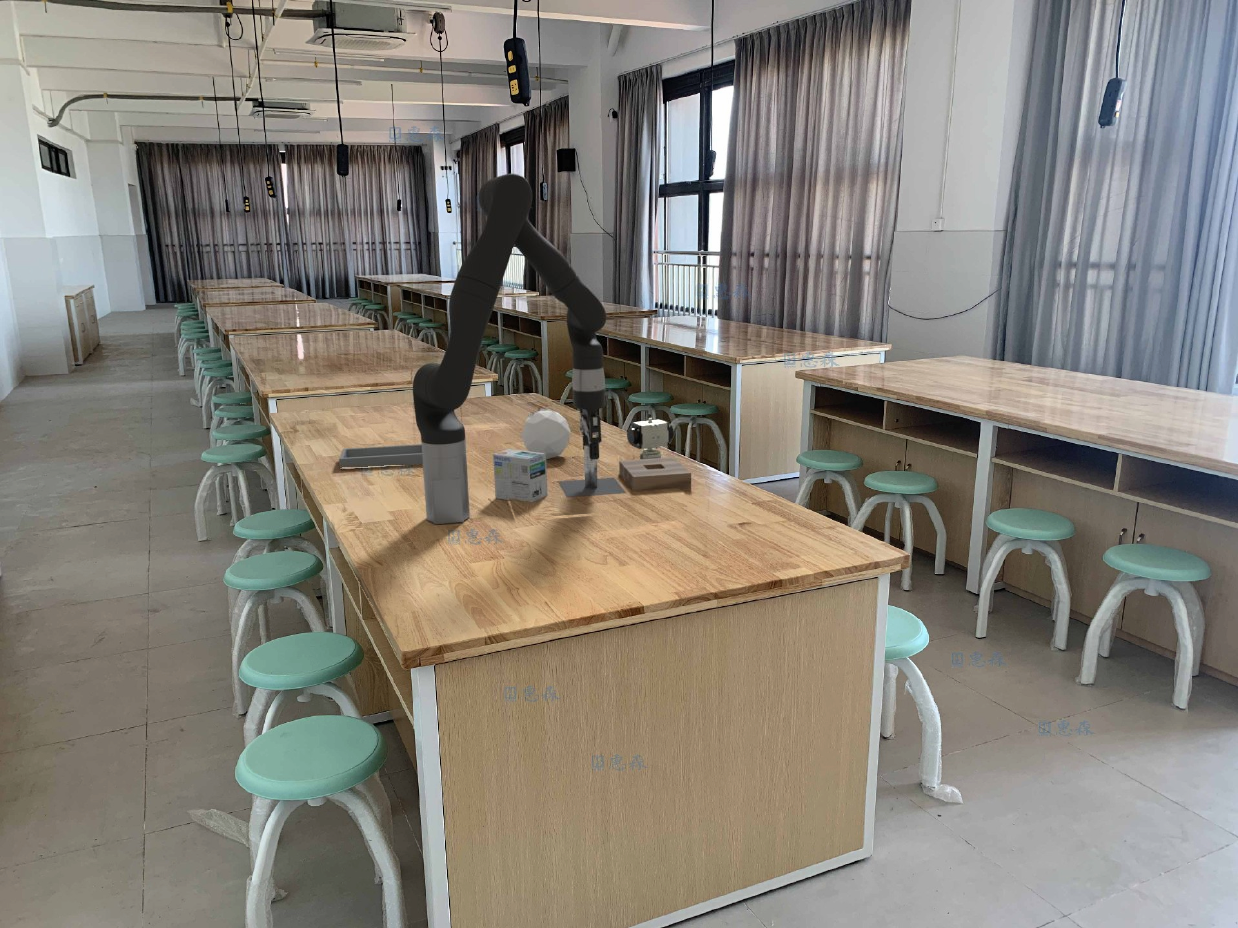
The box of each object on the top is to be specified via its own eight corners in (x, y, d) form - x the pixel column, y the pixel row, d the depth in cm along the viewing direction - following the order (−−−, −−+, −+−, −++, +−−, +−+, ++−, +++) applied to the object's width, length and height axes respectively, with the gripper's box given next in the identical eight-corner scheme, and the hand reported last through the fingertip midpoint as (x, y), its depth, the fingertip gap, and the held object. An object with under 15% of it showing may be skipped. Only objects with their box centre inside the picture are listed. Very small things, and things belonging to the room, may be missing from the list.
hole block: (691, 489, 214) (691, 472, 213) (633, 493, 211) (633, 476, 210) (673, 472, 229) (673, 457, 228) (619, 476, 226) (619, 460, 225)
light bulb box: (548, 497, 209) (547, 452, 206) (531, 505, 203) (529, 458, 201) (511, 491, 214) (509, 447, 212) (494, 498, 209) (491, 453, 206)
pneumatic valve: (626, 463, 239) (626, 419, 236) (665, 458, 244) (665, 414, 241) (636, 468, 234) (635, 422, 231) (675, 462, 239) (675, 418, 236)
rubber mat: (626, 495, 210) (626, 492, 210) (566, 499, 207) (566, 497, 207) (614, 479, 223) (614, 477, 223) (558, 483, 220) (557, 481, 220)
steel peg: (598, 488, 214) (597, 447, 211) (586, 489, 213) (585, 447, 211) (596, 484, 217) (595, 444, 214) (584, 485, 216) (583, 445, 214)
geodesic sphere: (528, 446, 234) (553, 401, 236) (500, 438, 244) (524, 395, 247) (564, 471, 243) (588, 427, 246) (536, 462, 254) (558, 420, 256)
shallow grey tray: (429, 464, 241) (428, 453, 240) (340, 470, 236) (339, 459, 235) (429, 454, 252) (428, 443, 251) (343, 459, 247) (342, 448, 247)
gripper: (610, 391, 203) (612, 460, 207) (598, 381, 217) (600, 446, 221) (578, 393, 202) (580, 463, 206) (567, 383, 215) (570, 449, 219)
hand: (591, 454), depth 213 cm, fingers open, 8 cm apart
